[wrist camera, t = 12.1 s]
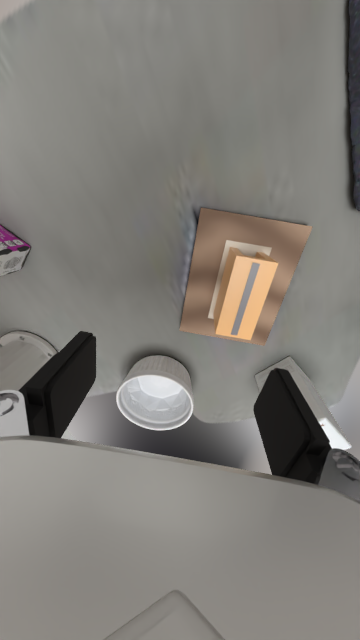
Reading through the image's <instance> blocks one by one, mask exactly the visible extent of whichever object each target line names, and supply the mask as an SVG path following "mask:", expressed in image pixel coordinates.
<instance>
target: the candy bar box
mask: <svg viewBox="0 0 360 640" xmlns="http://www.w3.org/2000/svg"><path fill="white" fill-rule="evenodd" d="M30 248H31V247H30V246H29V245H28V244H26V243H25V242H24V241H22V240H21V239H19V238H18V237H17V236H15V235H14V234H12V233H11V232H10V231H8V230H7V229H5V228H4V227H2V226H1V225H0V276H3V275H6V274H9V273H12V272H15V271H18V270H21V268H22V266H23V264H24V261H25V259H26V257H27V255H28V253H29V251H30Z"/></svg>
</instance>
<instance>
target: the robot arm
mask: <svg viewBox="0 0 360 640" xmlns="http://www.w3.org/2000/svg"><path fill="white" fill-rule="evenodd" d="M95 378H96V337H95V336H93V334H92V333H88V332H83V331H80V332H79V333H78V334H77V335H76V336H75V337H74V338H73V339H72V340H71V341H70V342H69V343H68V344H67V345H66V346H65V347H64V348H63V349H62V350H61V351H60V352H59V353H57V352H56V350H55V349H54V348H53V347H52V346H51V345H50V344H49V343H48V342H47V341H45V340H44V339H42V338H40V337H38V336H37V335H34V334H31V333H28V332H23V331H15V332H10V333H7V334H6V335H4V336H2V337H1V338H0V640H360V461H359V460H358V459H357V458H355V457H354V456H353V455H352V454H350V453H348V452H346V451H344V450H342V449H338V448H333V449H332V448H331V446H330V444H329V443H330V440H329V439H328V437H327V435H326V434H325V432H324V430H323V429H322V427H321V425H320V424H319V422H318V420H317V418H316V417H315V415H314V413H313V412H312V410H311V408H310V407H309V405H308V403H307V401H306V400H305V398H304V396H303V395H302V393H301V391H300V390H299V388H298V386H297V384H296V383H295V381H294V379H293V378H292V376H291V374H290V373H289V371H288V370H286V369H280V368H275V369H274V370H271V371H270V373H269V375H268V377H267V379H266V381H265V383H264V386H263V388H262V390H261V392H260V394H259V396H258V398H257V400H256V402H255V405H254V414H255V417H256V421H257V424H258V427H259V431H260V435H261V438H262V441H263V444H264V448H265V452H266V455H267V458H268V461H269V465H270V469H271V472H272V475H270V474H265V473H259V472H254V471H248V470H242V469H237V468H231V467H226V466H220V465H215V464H210V463H204V462H198V461H193V460H186V459H182V458H176V457H170V456H164V455H158V454H153V453H147V452H141V451H135V450H130V449H124V448H118V447H112V446H106V445H100V444H95V443H88V442H82V441H75V440H68V439H62V438H61V437H62V435H63V433H64V432H65V430H66V428H67V427H68V425H69V423H70V422H71V420H72V418H73V417H74V415H75V413H76V412H77V410H78V408H79V407H80V405H81V403H82V402H83V400H84V398H85V397H86V395H87V393H88V392H89V390H90V388H91V387H92V385H93V383H94V381H95Z"/></svg>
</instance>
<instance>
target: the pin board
mask: <svg viewBox="0 0 360 640" xmlns="http://www.w3.org/2000/svg"><path fill="white" fill-rule="evenodd" d="M311 229H312V226H306V225H300V224H294V223H288V222H283V221H277V220H271V219H265V218H259V217H253V216H247V215H242V214H236V213H230V212H224V211H218V210H212V209H206V208H201V210H200V216H199V222H198V228H197V233H196V239H195V245H194V251H193V256H192V262H191V268H190V274H189V279H188V285H187V291H186V297H185V302H184V308H183V314H182V320H181V325H180V331H184V332H190V333H196V334H201V335H207V336H213V337H218V338H224V339H230V340H235V341H241V342H247V343H252V344H258V345H263V346H264V345H265V343H266V341H267V338H268V336H269V333H270V331H271V328H272V326H273V323H274V321H275V318H276V316H277V313H278V311H279V308H280V306H281V303H282V301H283V299H284V296H285V294H286V291H287V289H288V286H289V284H290V281H291V279H292V276H293V274H294V271H295V269H296V266H297V264H298V262H299V259H300V257H301V254H302V252H303V249H304V247H305V244H306V242H307V239H308V237H309V234H310V232H311ZM230 247H233V248H238V250H239V251H240V252H241V253H242V254H243V255H245V256H251V257H255V256H256V253H257V252H262V253H265V254H266V255H268V256H269V257H271V258H272V259H274V260H275V261H276V262H278V266H277V269H276V272H275V274H274V277H273V280H272V283H271V285H270V288H269V291H268V294H267V296H266V299H265V302H264V305H263V307H262V310H261V313H260V316H259V318H258V321H257V324H256V327H255V329H254V332H253V335H252V338H251V340H246V339H241V338H235V337H229V336H224V335H218V334H215V326H214V317H213V313H214V309H215V305H216V301H217V297H218V293H219V289H220V285H221V281H222V277H223V273H224V269H225V265H226V261H227V257H228V253H229V249H230Z"/></svg>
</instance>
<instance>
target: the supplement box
mask: <svg viewBox="0 0 360 640" xmlns="http://www.w3.org/2000/svg"><path fill="white" fill-rule="evenodd" d="M275 368H280V369H286V370H288V371H289V373H290V374H291V376H292V378H293V379H294V381H295V383H296V384H297V386H298V388H299V390H300V391H301V393H302V395H303V396H304V398H305V400H306V401H307V403H308V405H309V407H310V408H311V410H312V412H313V413H314V415H315V417H316V418H317V420H318V422H319V424H320V425H321V427H322V429H323V430H324V432H325V434H326V435H327V437H328V439H329V440H330V443H329V444H330V446H331V448H332V449H333V448H338V449H342V450H346V449H349V448H351V444H350V443H349V441H348V439H347V438H346V437H345V434H344V433H343V431H342V430H341V428H340V426H339V425H338V424H337V422H336V421H335V419H334V417H333V416H332V414H331V412H330V411H329V409H328V408H327V406H326V404H325V403H324V401H323V400H322V398H321V397H320V395H319V394H318V392H317V390H316V389H315V387H314V385H313V384H312V382H311V381H310V379H309V378H308V377H307V375H306V374H305V373H304V372H303V371H302V370H301V368H300V367H299V366H298V365H297V364H296V363H295V361H294V360H293V359H292V358H291V357H290V356H289V357H287V358H285V359H283V360H282V361H280V362H278V363H276V364H274V365H272V366H271V367H269V368H267V369H265V370H263V371H262V372H260V373H258V374H256V375H255V379H256V382H257V385H258V388H259V391H260V392H261V390H262V388H263V386H264V383H265V381H266V379H267V377H268V375H269V373H270V371H271V370H274V369H275Z"/></svg>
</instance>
